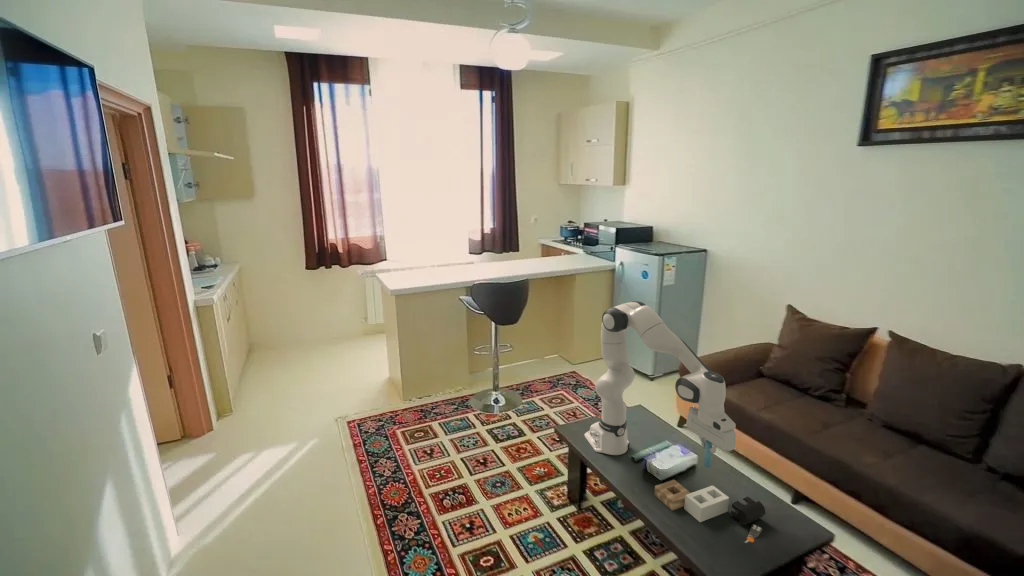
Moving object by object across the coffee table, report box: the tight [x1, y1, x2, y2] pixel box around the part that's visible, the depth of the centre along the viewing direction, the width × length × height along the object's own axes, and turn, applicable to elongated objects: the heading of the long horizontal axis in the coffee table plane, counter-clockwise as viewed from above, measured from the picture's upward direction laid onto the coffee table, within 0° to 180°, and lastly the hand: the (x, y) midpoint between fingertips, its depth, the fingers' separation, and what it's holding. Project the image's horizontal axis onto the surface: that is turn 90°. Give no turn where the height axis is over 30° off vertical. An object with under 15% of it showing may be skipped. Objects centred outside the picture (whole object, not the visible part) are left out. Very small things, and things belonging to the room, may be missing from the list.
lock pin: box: [703, 440, 713, 468], centre depth 173 cm, size 2×2×10 cm
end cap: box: [730, 496, 766, 526], centre depth 171 cm, size 10×7×7 cm
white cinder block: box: [683, 485, 730, 523], centre depth 176 cm, size 8×14×6 cm, turn 114°
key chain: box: [744, 523, 763, 544], centre depth 163 cm, size 13×4×2 cm, turn 137°
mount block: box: [653, 479, 691, 511], centre depth 182 cm, size 10×10×4 cm
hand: (708, 449), depth 173 cm, fingers closed on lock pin, 2 cm apart
